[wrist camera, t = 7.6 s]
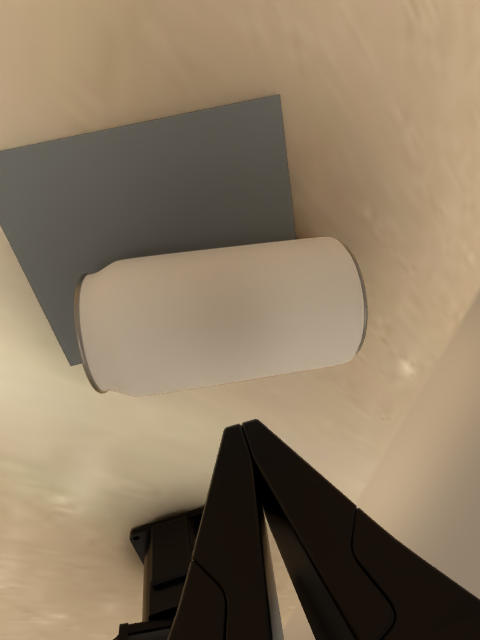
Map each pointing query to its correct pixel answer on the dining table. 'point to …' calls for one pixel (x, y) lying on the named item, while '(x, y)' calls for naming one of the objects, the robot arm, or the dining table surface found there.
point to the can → (219, 315)
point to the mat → (143, 197)
